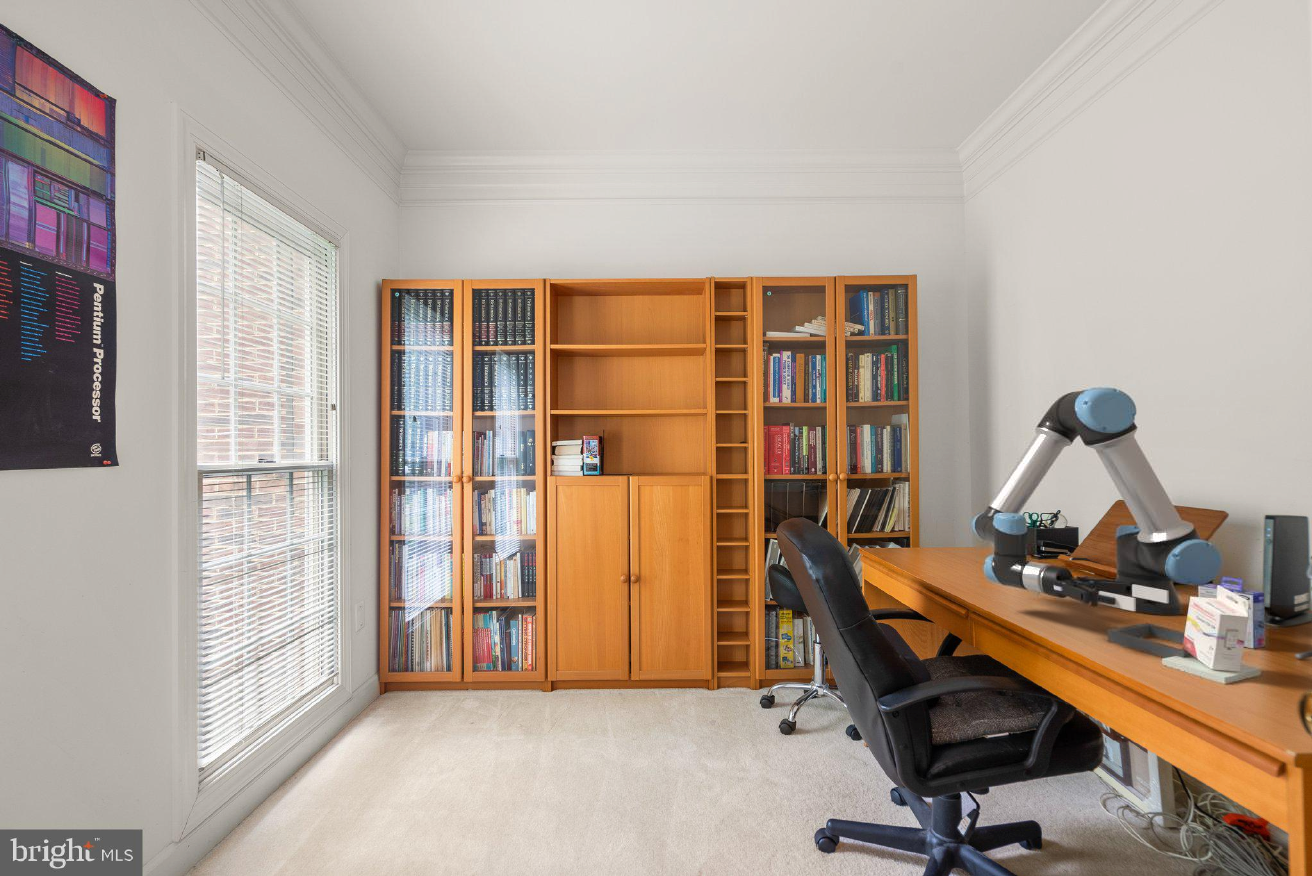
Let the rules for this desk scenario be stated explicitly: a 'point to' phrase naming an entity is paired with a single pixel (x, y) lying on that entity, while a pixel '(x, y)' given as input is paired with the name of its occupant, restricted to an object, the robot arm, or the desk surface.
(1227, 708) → the desk surface
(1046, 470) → the robot arm
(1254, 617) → the ink cartridge box
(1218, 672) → the board
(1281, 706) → the desk surface
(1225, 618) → the ink cartridge box
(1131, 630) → the dock
